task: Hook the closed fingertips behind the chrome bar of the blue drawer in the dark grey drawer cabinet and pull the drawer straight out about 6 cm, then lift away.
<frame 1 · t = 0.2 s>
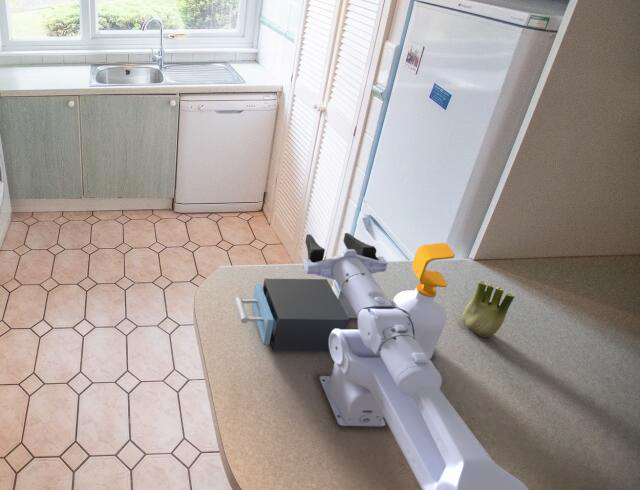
hand: (326, 237, 91), 21 cm above the countertop, tool horizontal, fingers open, 7 cm apart
soap bottle: (406, 345, 93), on the countertop
fennel bulb: (475, 331, 97), on the countertop
dark grey drawer cabinet: (297, 328, 97), on the countertop
medicine box: (348, 312, 101), on the countertop
blue drawer: (278, 313, 95), point 4 cm above the countertop, slide at 0.8 cm
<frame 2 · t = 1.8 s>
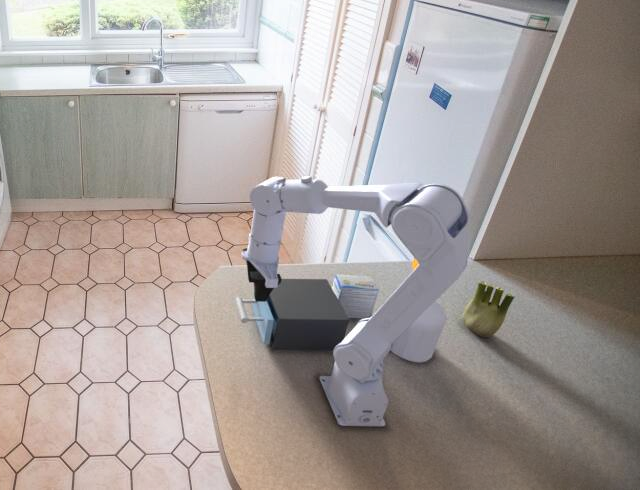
hand: (257, 290, 93), 10 cm above the countertop, tool pointing down, fingers open, 5 cm apart
nothing on the countertop moved.
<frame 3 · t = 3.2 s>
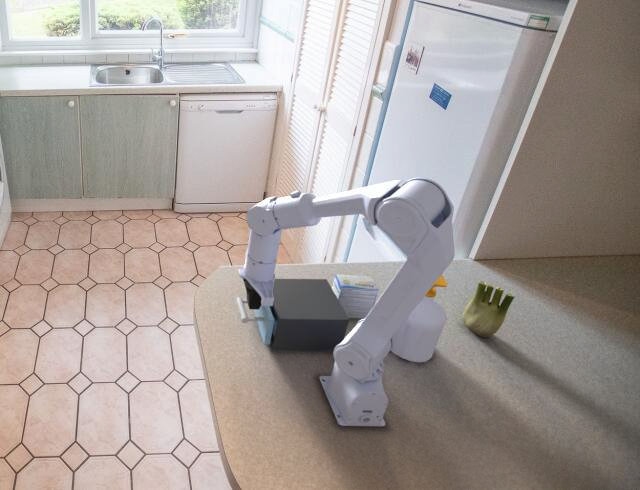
hand: (253, 307, 95), 6 cm above the countertop, tool pointing down, fingers closed
nothing on the countertop moved.
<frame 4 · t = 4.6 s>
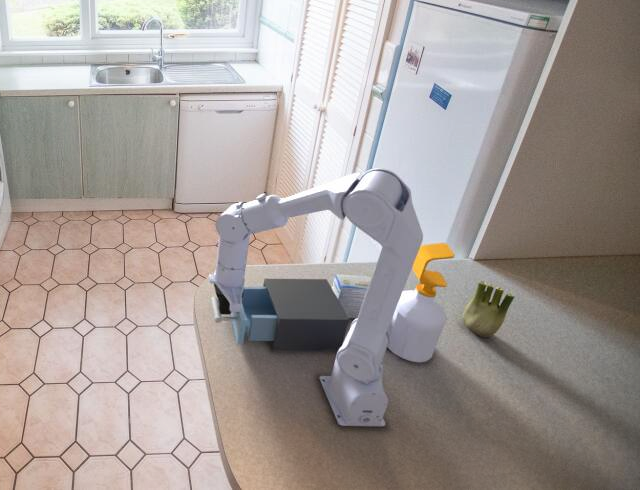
hand: (225, 312, 95), 4 cm above the countertop, tool pointing down, fingers closed, pressing on blue drawer
blue drawer: (252, 313, 95), point 4 cm above the countertop, slide at 6.1 cm, touching gripper
everything else where it was.
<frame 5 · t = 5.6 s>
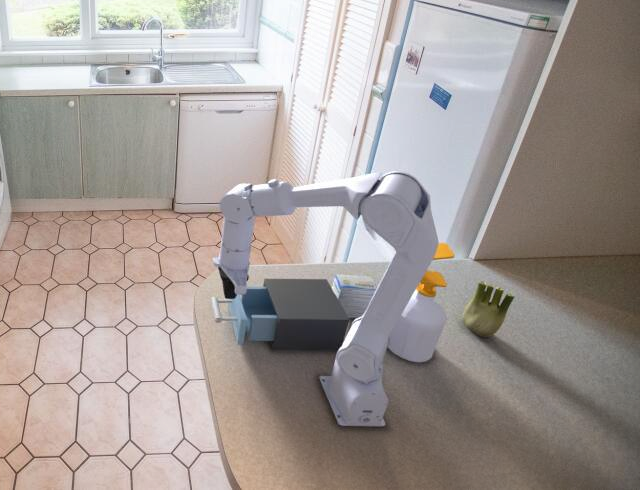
hand: (229, 296, 93), 9 cm above the countertop, tool pointing down, fingers closed
blue drawer: (253, 313, 95), point 4 cm above the countertop, slide at 6.1 cm
everything else where it was.
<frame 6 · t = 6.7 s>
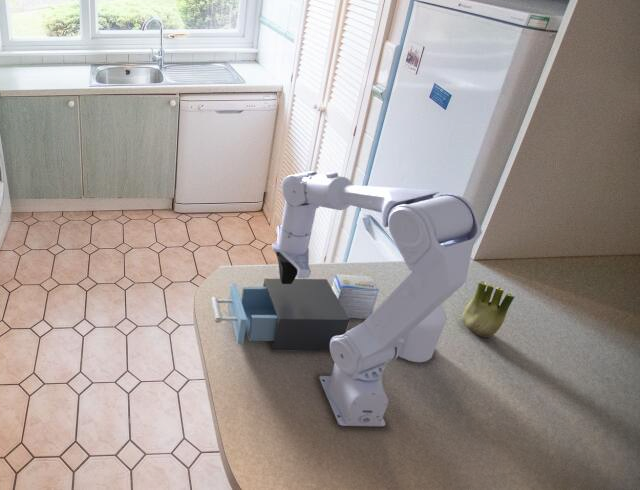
hand: (285, 281, 95), 10 cm above the countertop, tool pointing down, fingers closed
nothing on the countertop moved.
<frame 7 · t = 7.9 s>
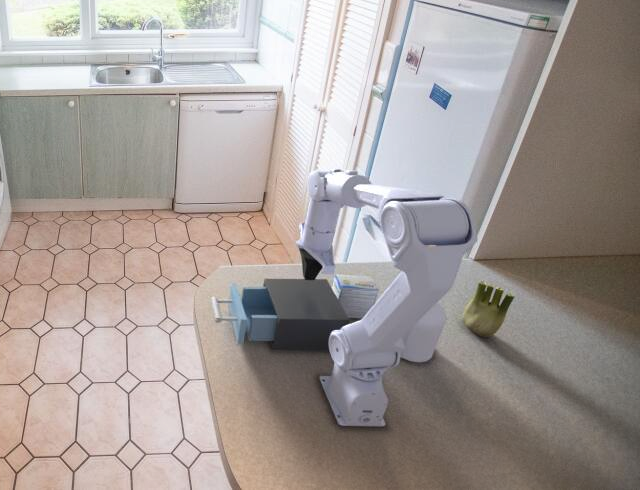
hand: (308, 278, 96), 10 cm above the countertop, tool pointing down, fingers closed
nothing on the countertop moved.
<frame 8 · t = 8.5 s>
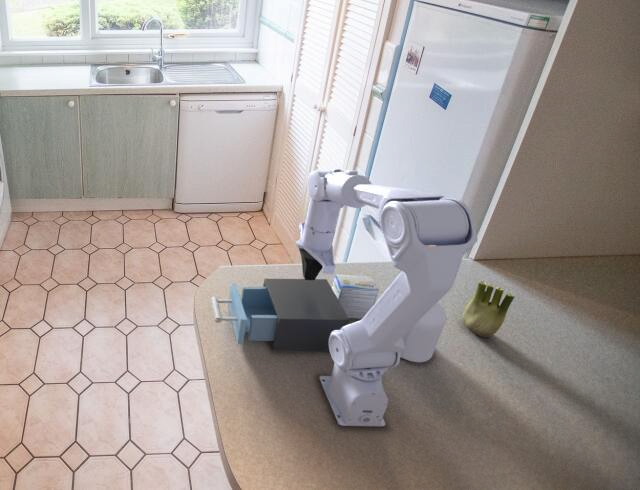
hand: (308, 278, 96), 10 cm above the countertop, tool pointing down, fingers closed
nothing on the countertop moved.
at the end: blue drawer slide at 6.1 cm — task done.
